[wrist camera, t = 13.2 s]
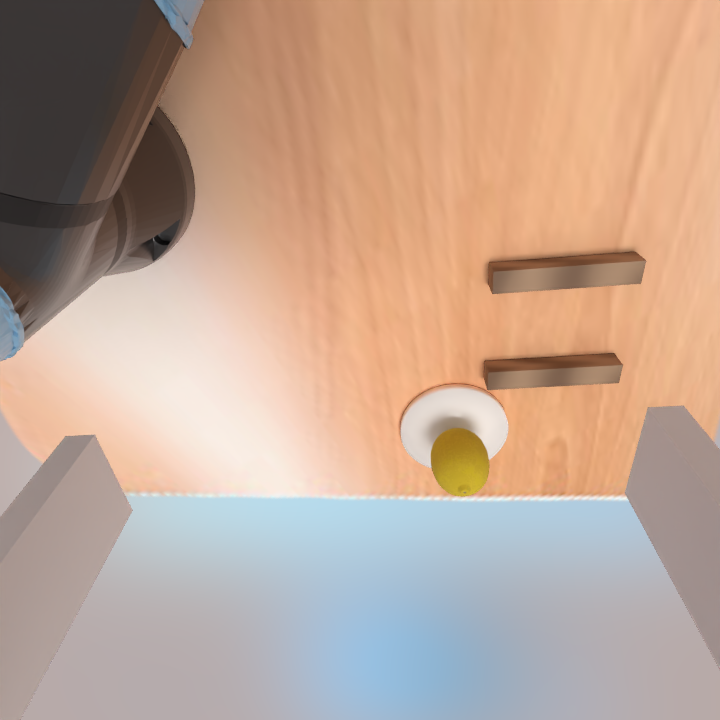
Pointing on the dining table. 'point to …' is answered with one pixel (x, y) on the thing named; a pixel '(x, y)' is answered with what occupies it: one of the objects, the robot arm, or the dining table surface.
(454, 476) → the lemon
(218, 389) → the dining table surface
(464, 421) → the saucer
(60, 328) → the dining table surface
